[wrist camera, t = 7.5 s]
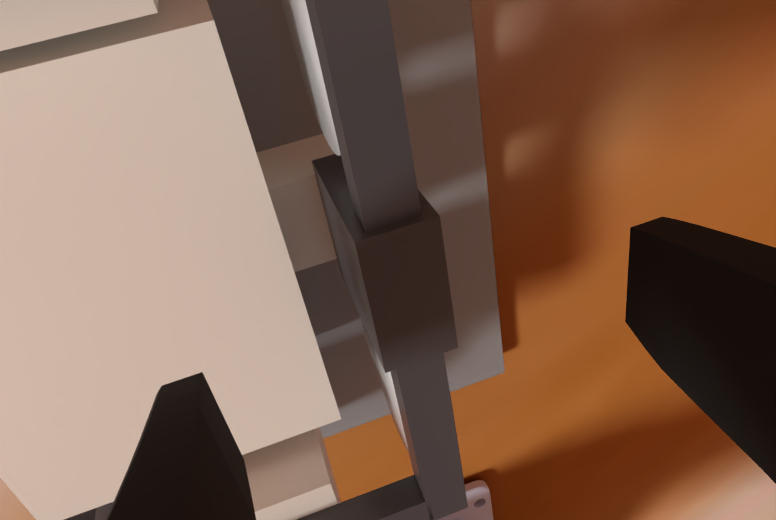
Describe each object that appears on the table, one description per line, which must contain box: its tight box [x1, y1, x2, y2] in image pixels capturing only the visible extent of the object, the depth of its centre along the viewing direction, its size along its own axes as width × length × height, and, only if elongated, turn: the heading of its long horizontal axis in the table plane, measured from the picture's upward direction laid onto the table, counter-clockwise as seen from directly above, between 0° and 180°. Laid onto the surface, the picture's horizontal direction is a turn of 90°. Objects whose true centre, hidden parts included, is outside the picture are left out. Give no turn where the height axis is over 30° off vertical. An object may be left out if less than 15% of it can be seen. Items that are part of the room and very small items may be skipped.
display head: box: [0, 0, 505, 520], centre depth 14 cm, size 15×18×6 cm
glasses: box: [64, 0, 468, 520], centre depth 12 cm, size 10×14×5 cm
